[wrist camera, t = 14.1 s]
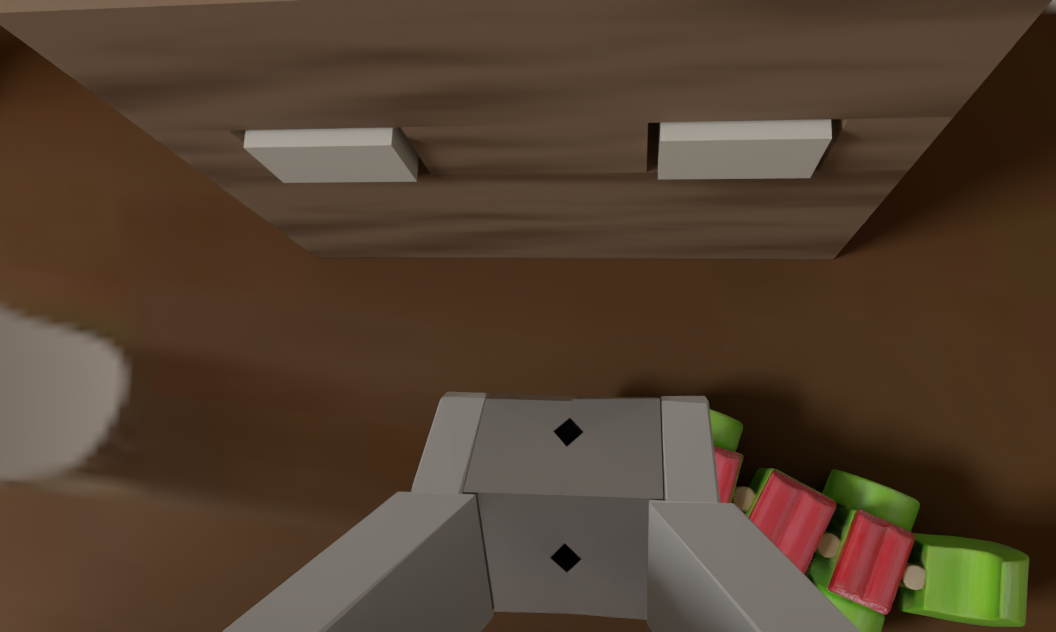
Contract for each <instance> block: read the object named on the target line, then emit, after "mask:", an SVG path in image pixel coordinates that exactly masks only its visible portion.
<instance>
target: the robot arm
mask: <svg viewBox="0 0 1056 632" xmlns="http://www.w3.org/2000/svg"><path fill="white" fill-rule="evenodd" d="M493 612H531V613H569V612H570V614H581V615H593V616H605V617H618V618H630V619H643V620H647V625H648V626H649V628H650V629H651V631H652V632H860V631H859V630H858V629H857V628H856V627H855V626H854V625H853V624H852V623H851V622H850V620H849V619H848V618H847V617H846V616H845V615H844V614H843V613H842V612H841V611H840V610H839V609H838V608H837V607H836V606H835V605H834V604H833V603H832V602H831V601H830V600H829V599H828V598H827V597H826V596H825V595H824V594H823V593H822V592H821V591H820V590H819V589H818V588H817V587H816V586H815V585H814V584H813V583H812V582H811V581H810V580H809V579H808V578H807V577H806V576H805V575H804V574H803V573H802V572H801V571H800V570H799V569H798V568H797V567H796V566H795V565H794V563H793V562H792V561H791V560H790V559H789V558H788V557H787V556H786V555H785V554H784V553H783V552H782V551H781V550H780V549H779V548H778V547H777V546H776V545H775V544H774V543H773V542H772V541H771V540H770V539H769V538H768V537H767V536H766V535H765V534H764V533H763V532H762V531H761V530H760V529H759V528H758V527H757V526H756V525H755V524H754V523H753V522H752V521H751V520H750V519H749V518H748V517H747V516H746V515H745V514H744V513H743V512H742V511H741V510H740V509H739V508H738V506H737V505H736V504H733V503H720V495H719V486H718V477H717V469H716V460H715V452H714V443H713V435H712V426H711V417H710V409H709V401H708V400H707V398H706V397H705V396H661V399H660V398H659V397H593V396H562V395H537V394H512V393H489V394H487V393H471V392H446V394H445V395H444V396H443V397H442V398H441V399H440V402H439V405H438V408H437V411H436V414H435V417H434V421H433V424H432V427H431V430H430V433H429V436H428V439H427V442H426V445H425V449H424V452H423V455H422V458H421V461H420V464H419V467H418V470H417V473H416V477H415V480H414V483H413V486H412V489H411V492H397V493H396V494H394V495H393V496H392V497H391V498H389V499H388V500H387V501H386V502H384V503H383V504H382V505H381V506H379V507H378V508H377V509H375V510H374V511H373V512H372V513H370V514H369V515H368V516H367V517H365V518H364V519H363V520H362V521H360V522H359V523H358V524H357V525H355V526H354V527H353V528H352V529H350V530H349V531H348V532H347V533H345V534H344V535H343V536H342V537H340V538H339V539H338V540H336V541H335V542H334V543H333V544H331V545H330V546H329V547H328V548H326V549H325V550H324V551H323V552H321V553H320V554H319V555H318V556H316V557H315V558H314V559H313V560H311V561H310V562H309V563H308V564H306V565H305V566H304V567H303V568H301V569H300V570H299V571H297V572H296V573H295V574H294V575H292V576H291V577H290V578H289V579H287V580H286V581H285V582H284V583H282V584H281V585H280V586H279V587H277V588H276V589H275V590H274V591H272V592H271V593H270V594H269V595H267V596H266V597H265V598H263V599H262V600H261V601H260V602H258V603H257V604H256V605H255V606H253V607H252V608H251V609H250V610H248V611H247V612H246V613H245V614H243V615H242V616H241V617H240V618H238V619H237V620H236V621H235V622H233V623H232V624H231V625H230V626H228V627H227V628H226V629H224V630H223V632H481V631H482V630H483V629H484V627H485V626H486V625H487V624H488V622H489V621H490V620H491V619H492V617H493Z"/></svg>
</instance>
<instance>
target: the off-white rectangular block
mask: <svg viewBox="0 0 1056 632" xmlns="http://www.w3.org/2000/svg"><path fill="white" fill-rule="evenodd" d="M831 139H832V128H831V119H819V120H766V121H712V122H659V123H658V180H663V179H774V178H810V177H811V176H812V174H813V172H814V170H815V168H816V166H817V165H818V163H819V161H820V159H821V157H822V156H823V154H824V152H825V150H826V148H827V147H828V145H829V143H830V141H831Z"/></svg>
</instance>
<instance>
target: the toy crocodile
mask: <svg viewBox="0 0 1056 632" xmlns="http://www.w3.org/2000/svg"><path fill="white" fill-rule="evenodd" d="M710 417H711V426H712V435H713V443H714V452H715V460H716V469H717V477H718V486H719V495H720V503H733V504H736V505H737V506H738V508H739V509H740V510H741V511H742V512H743V513H744V514H745V515H746V516H747V517H748V518H749V519H750V520H751V521H752V522H753V523H754V524H755V525H756V526H757V527H758V528H759V529H760V530H761V531H762V532H763V533H764V534H765V535H766V536H767V537H768V538H769V539H770V540H771V541H772V542H773V543H774V544H775V545H776V546H777V547H778V548H779V549H780V550H781V551H782V552H783V553H784V554H785V555H786V556H787V557H788V558H789V559H790V560H791V561H792V562H793V563H794V565H795V566H796V567H797V568H798V569H799V570H800V571H801V572H802V573H803V574H804V573H805V572H806V570H807V567H808V565H809V563H810V561H811V559H812V556H813V554H814V552H815V553H816V555H815V558H814V561H813V564H812V567H811V569H810V572H809V575H808V579H809V580H810V581H811V582H812V583H813V584H814V585H815V586H816V587H817V588H818V589H819V590H820V591H821V592H822V593H823V594H824V595H825V596H826V597H827V598H828V599H829V600H830V601H831V602H832V603H833V604H834V605H835V606H836V607H837V608H838V609H839V610H840V611H841V612H842V613H843V614H844V615H845V616H846V617H847V618H848V619H849V620H850V622H851V623H852V624H853V625H854V626H855V627H856V628H857V629H858V630H859V631H860V632H881V630H882V627H883V623H884V620H885V616H884V615H886V614H888V613H889V612H890V610H891V607H892V603H893V601H894V599H895V596H896V593H897V590H898V587H900V592H899V609H900V610H901V611H903V612H908V613H913V614H919V615H924V616H929V617H934V618H939V619H945V620H950V621H955V622H962V623H968V624H974V625H983V626H993V627H1020V626H1024V625H1025V622H1026V604H1027V586H1028V571H1029V557H1028V555H1026V554H1025V553H1023V552H1021V551H1019V550H1017V549H1014V548H1012V547H1009V546H1006V545H1003V544H1000V543H995V542H990V541H984V540H978V539H972V538H964V537H956V536H945V535H929V534H918V533H911V530H912V527H913V524H914V522H915V519H916V516H917V514H918V511H919V508H920V503H919V502H918V501H917V500H916V499H914V498H912V497H910V496H908V495H906V494H903V493H901V492H899V491H896V490H894V489H892V488H889V487H887V486H884V485H882V484H879V483H876V482H874V481H871V480H868V479H865V478H863V477H860V476H857V475H853V474H850V473H847V472H843V471H839V470H835V469H833V470H831V472H830V474H829V477H828V479H827V482H826V485H825V488H824V490H823V493H820V492H818V491H816V490H814V489H813V488H811V487H809V486H807V485H805V484H803V483H801V482H799V481H798V480H796V479H794V478H792V477H790V476H788V475H787V474H785V473H783V472H781V471H779V470H777V469H774V468H759V469H758V470H757V471H756V473H755V475H754V477H753V479H752V481H751V483H750V485H749V487H736V483H737V479H738V476H739V472H740V468H741V464H742V461H743V455H742V454H740V453H737V452H736V449H737V447H738V443H739V440H740V437H741V433H742V430H743V425H742V423H741V422H739V421H738V420H736V419H734V418H732V417H729V416H727V415H725V414H722V413H720V412H717V411H714V410H712V409H710Z"/></svg>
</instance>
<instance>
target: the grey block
mask: <svg viewBox="0 0 1056 632" xmlns="http://www.w3.org/2000/svg"><path fill="white" fill-rule="evenodd" d="M243 148H244V149H246V150H247V151H248V152H249V153H250V154H251V155H252V156H254V157H255V158H256V159H257V160H258V161H259V162H260V163H262V164H263V165H264V166H265V167H266V168H267V169H268V170H269V171H271V172H272V173H273V174H274V175H275V176H276V177H277V178H279V179H280V180H281V181H282V182H283V183H325V182H417V174H418V161H419V155H418V154H417V152H416V151H415V149H414V147H413V146H412V144H411V143H410V141H409V140H408V138H407V137H406V135H405V134H404V132H403V130H402V129H401V127H392V128H338V129H285V130H246V131H245V139H244V147H243Z"/></svg>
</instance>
